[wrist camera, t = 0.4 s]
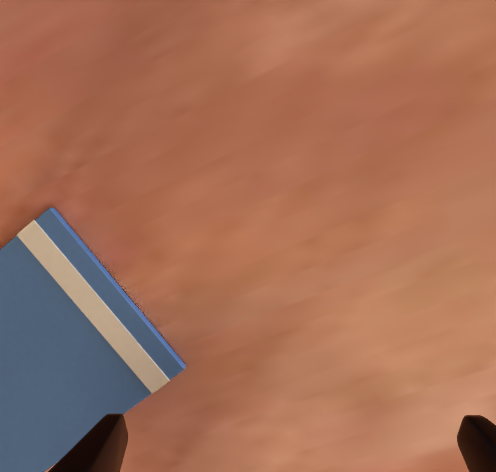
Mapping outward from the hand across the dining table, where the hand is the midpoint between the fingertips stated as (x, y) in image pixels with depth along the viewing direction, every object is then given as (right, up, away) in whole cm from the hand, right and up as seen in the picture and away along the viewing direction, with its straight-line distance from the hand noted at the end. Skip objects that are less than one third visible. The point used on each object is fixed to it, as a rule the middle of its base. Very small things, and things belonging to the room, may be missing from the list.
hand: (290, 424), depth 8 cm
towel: (-20, -6, +17) cm, 26 cm away
